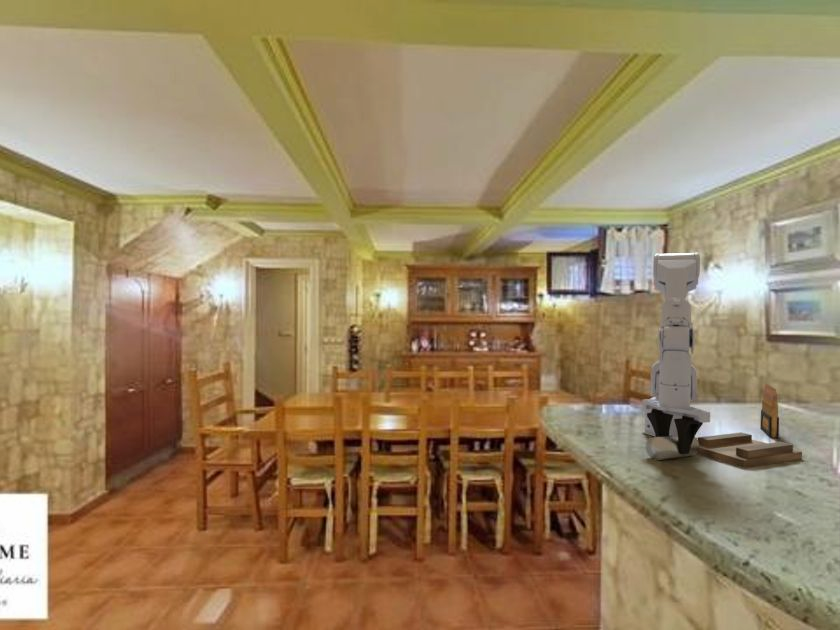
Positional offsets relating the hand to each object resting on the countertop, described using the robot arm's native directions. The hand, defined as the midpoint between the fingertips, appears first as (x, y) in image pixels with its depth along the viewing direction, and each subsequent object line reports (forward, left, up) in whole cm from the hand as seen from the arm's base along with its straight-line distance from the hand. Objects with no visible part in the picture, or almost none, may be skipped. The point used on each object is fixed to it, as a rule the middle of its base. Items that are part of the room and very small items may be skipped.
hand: (673, 450), depth 101 cm
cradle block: (+4, +16, -1) cm, 17 cm away
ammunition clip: (-7, +42, -2) cm, 43 cm away
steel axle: (0, 0, +1) cm, 1 cm away
